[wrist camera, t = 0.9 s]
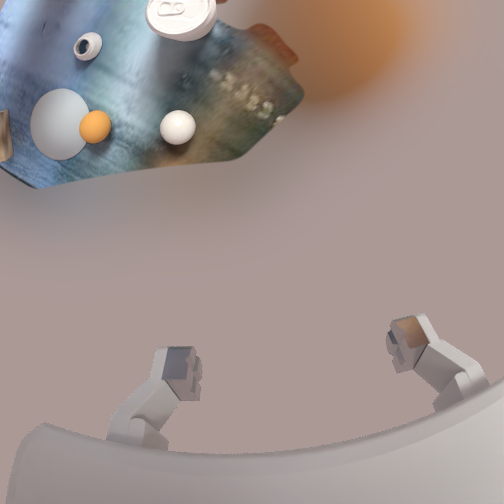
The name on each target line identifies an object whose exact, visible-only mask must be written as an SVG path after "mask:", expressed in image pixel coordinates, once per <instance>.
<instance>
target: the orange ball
mask: <svg viewBox="0 0 504 504" xmlns="http://www.w3.org/2000/svg"><path fill="white" fill-rule="evenodd" d="M110 129H111V121H110V118H109V116H108V115H107V114H106V113H105V112H103V111H98V110H96V111H92V112H89V113H88V114H86V115H85V116H84V117H83V119H82V120H81V122H80V126H79V132H80V136H81V137H82V139H83V140H84V141H86V142H88V143H98V142H100V141H102V140H103V139H105V138H106V136H107V135H108V134H109V132H110Z"/></svg>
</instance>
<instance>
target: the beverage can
mask: <svg viewBox="0 0 504 504" xmlns="http://www.w3.org/2000/svg"><path fill="white" fill-rule="evenodd" d="M146 21H147V23H148V25H149V27H150V28H151V29H152V30H153V31H154V32H155V33H156V34H158V35H160V36H162V37H165V38H169V39H174V40H178V41H193V40H197V39H199V38H201V37H203V36H205V35H206V34H207V33H208V32H209V31H210V30H211V29H212V28H213V26H214V24H215V21H216V2H215V0H149V2H148V4H147V7H146Z"/></svg>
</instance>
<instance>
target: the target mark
mask: <svg viewBox="0 0 504 504" xmlns="http://www.w3.org/2000/svg"><path fill="white" fill-rule="evenodd" d="M88 113H89V109H88V107H87V105H86V103H85V101H84V100H83V99H82V98H81V96H79V95H78V94H77V93H75V92H74V91H72V90H69V89H63V88H61V89H55V90H52V91H49V92H48V93H46V94H45V95H43V96H42V97H41V98H40V99H39V101H38V102H37V103H36V105H35V107H34V109H33V111H32V115H31V120H30V131H31V136H32V139H33V141H34V143H35V145H36V147H37V148H38V149H39V151H40V152H41V153H43V154H44V155H45V156H47V157H49V158H51V159H54V160H66V159H69V158H71V157H73V156H75V155H76V154H78V153H79V152H80V151H81V150H82V149H83V147H84V146H85V144H86V141H84V140H83V139H82V137H81V136H80V132H79V126H80V122H81V120H82V119H83V117H84V116H85V115H86V114H88Z"/></svg>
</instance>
